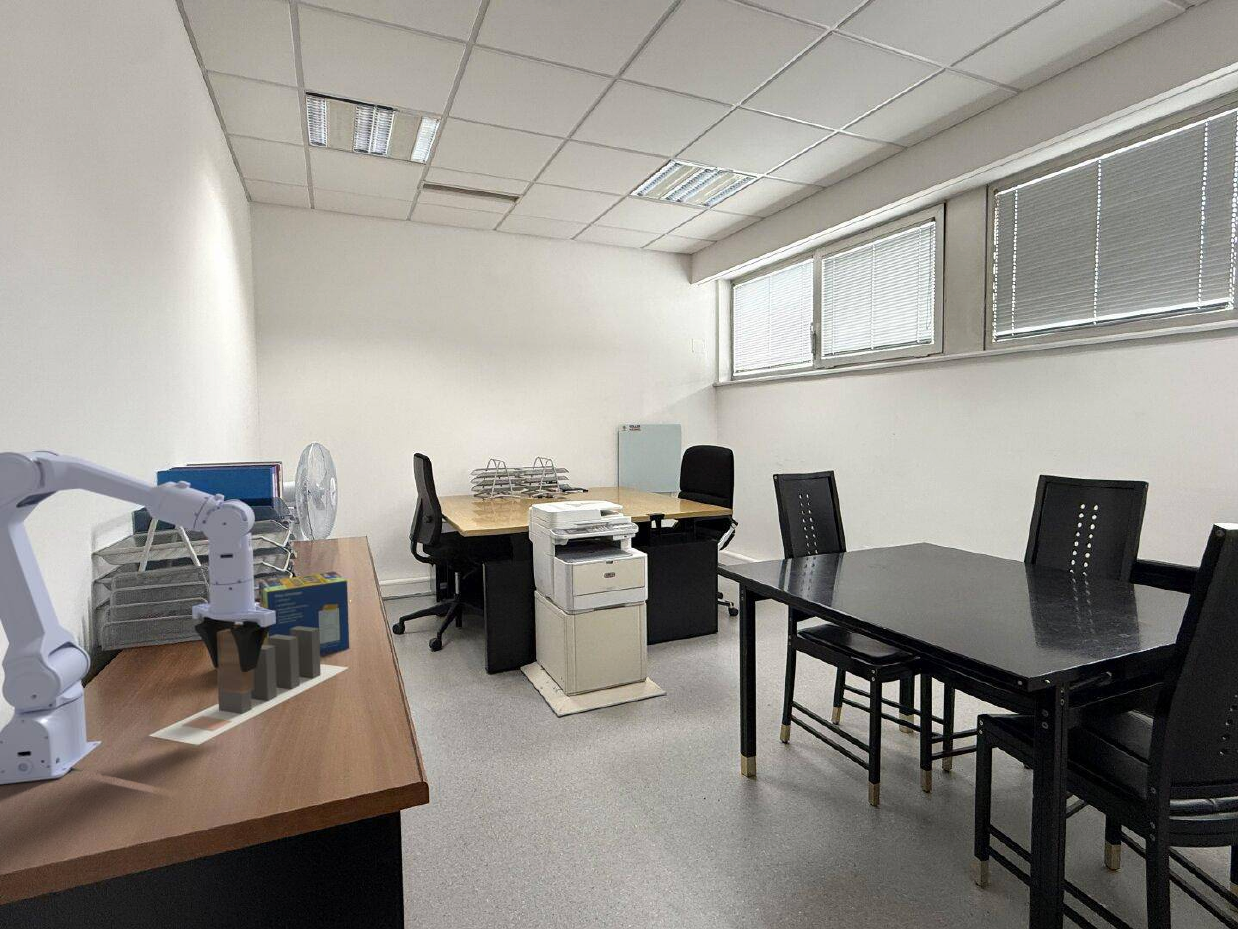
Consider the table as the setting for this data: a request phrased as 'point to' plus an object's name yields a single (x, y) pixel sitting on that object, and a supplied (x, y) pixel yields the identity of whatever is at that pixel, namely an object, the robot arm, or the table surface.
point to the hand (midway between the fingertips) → (235, 667)
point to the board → (218, 721)
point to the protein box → (309, 607)
